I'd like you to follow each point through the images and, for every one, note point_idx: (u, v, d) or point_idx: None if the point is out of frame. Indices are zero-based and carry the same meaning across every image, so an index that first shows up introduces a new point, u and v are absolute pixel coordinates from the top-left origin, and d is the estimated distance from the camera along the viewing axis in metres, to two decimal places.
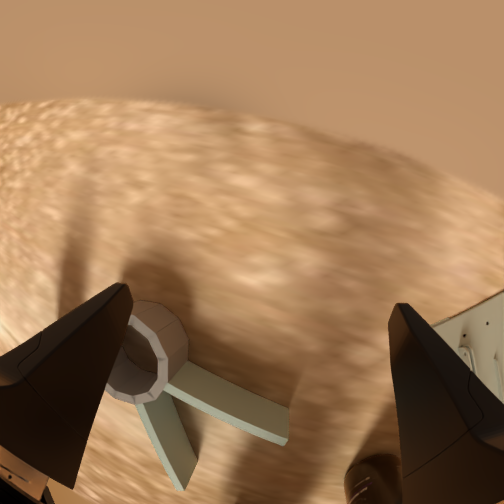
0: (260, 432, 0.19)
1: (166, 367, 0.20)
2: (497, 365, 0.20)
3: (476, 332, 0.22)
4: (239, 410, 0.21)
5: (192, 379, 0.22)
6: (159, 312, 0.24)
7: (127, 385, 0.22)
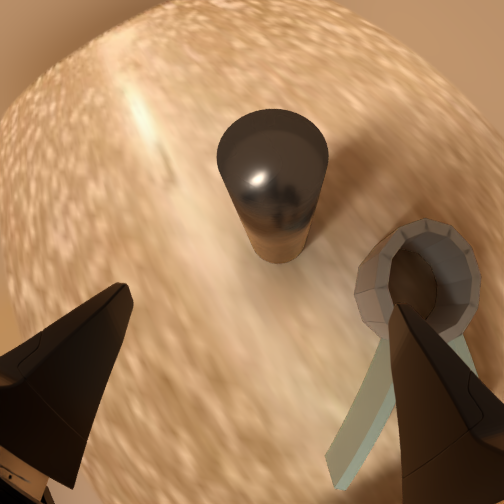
0: None
1: (471, 316, 0.15)
2: None
3: None
4: None
5: None
6: None
7: None
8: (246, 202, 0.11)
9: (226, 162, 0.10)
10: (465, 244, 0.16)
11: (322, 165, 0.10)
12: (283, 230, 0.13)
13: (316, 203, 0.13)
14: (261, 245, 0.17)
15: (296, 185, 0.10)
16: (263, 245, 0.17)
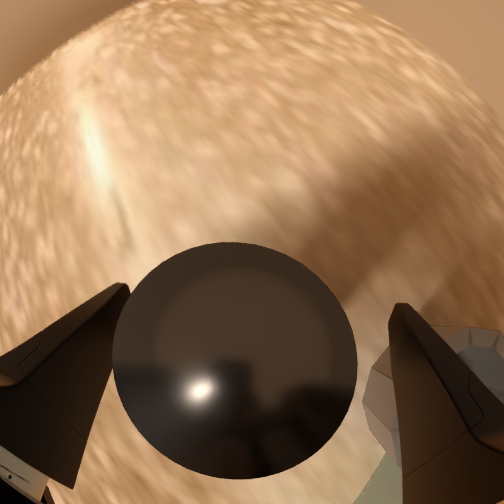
0: None
1: None
2: None
3: None
4: None
5: None
6: None
7: None
8: None
9: (131, 382, 0.04)
10: None
11: (339, 405, 0.04)
12: None
13: None
14: None
15: (276, 449, 0.04)
16: None
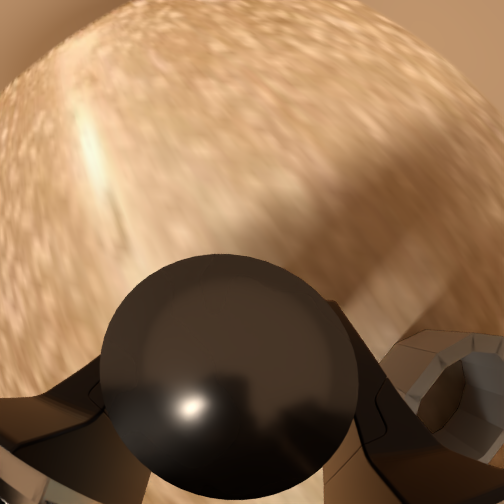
0: None
1: (502, 442, 0.08)
2: None
3: None
4: None
5: None
6: None
7: None
8: None
9: (119, 401, 0.04)
10: None
11: (338, 427, 0.04)
12: None
13: None
14: None
15: (272, 471, 0.04)
16: None
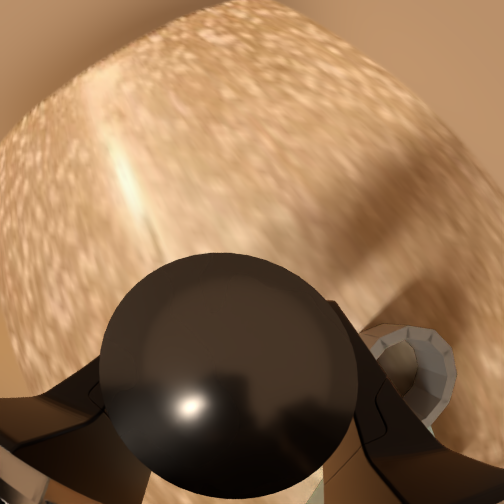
0: None
1: (441, 410, 0.15)
2: None
3: None
4: None
5: None
6: None
7: None
8: None
9: (119, 399, 0.04)
10: (445, 346, 0.16)
11: (338, 426, 0.04)
12: None
13: None
14: None
15: (271, 471, 0.04)
16: None
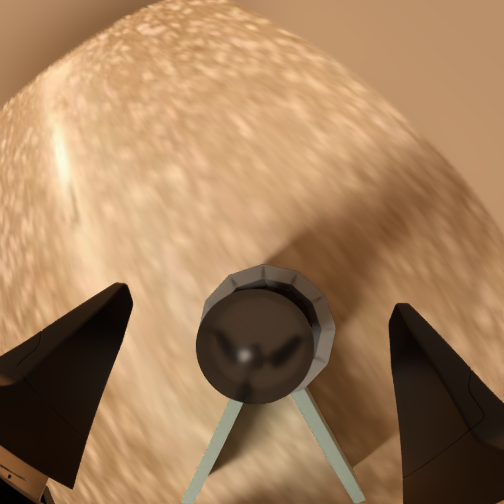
0: (350, 482, 0.14)
1: (317, 371, 0.16)
2: None
3: None
4: (340, 452, 0.16)
5: (310, 396, 0.18)
6: None
7: None
8: None
9: (206, 357, 0.10)
10: (315, 292, 0.17)
11: (306, 364, 0.10)
12: None
13: None
14: None
15: (277, 386, 0.09)
16: None
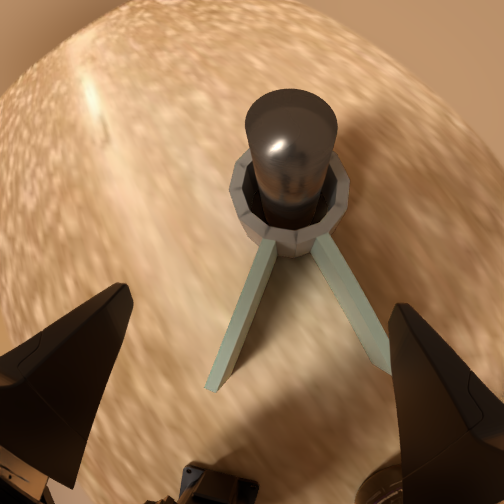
0: (385, 344, 0.16)
1: (339, 216, 0.18)
2: None
3: None
4: None
5: None
6: None
7: None
8: (272, 162, 0.12)
9: (253, 130, 0.12)
10: None
11: (333, 132, 0.12)
12: (299, 192, 0.15)
13: (327, 168, 0.15)
14: (277, 212, 0.19)
15: (313, 147, 0.12)
16: (279, 211, 0.18)
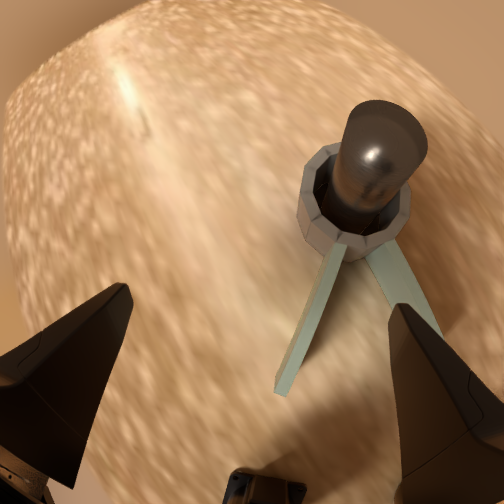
0: None
1: (403, 223, 0.18)
2: None
3: None
4: None
5: None
6: None
7: None
8: (374, 169, 0.12)
9: (357, 137, 0.12)
10: None
11: (424, 146, 0.12)
12: (382, 199, 0.15)
13: None
14: (347, 217, 0.19)
15: (410, 159, 0.12)
16: (350, 216, 0.18)
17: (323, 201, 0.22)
